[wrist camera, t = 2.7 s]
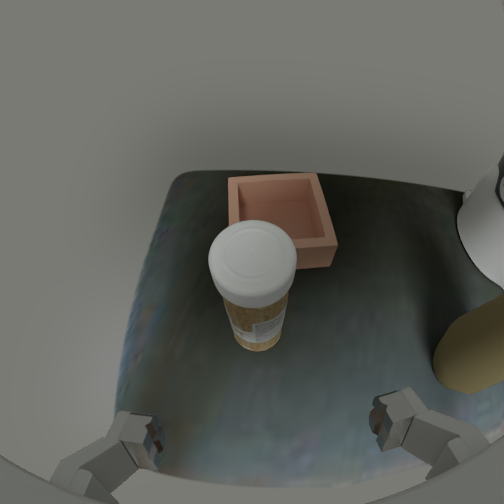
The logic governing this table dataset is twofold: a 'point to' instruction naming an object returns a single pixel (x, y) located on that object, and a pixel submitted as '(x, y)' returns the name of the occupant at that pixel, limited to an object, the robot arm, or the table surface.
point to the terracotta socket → (287, 212)
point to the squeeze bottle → (473, 350)
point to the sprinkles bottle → (254, 279)
